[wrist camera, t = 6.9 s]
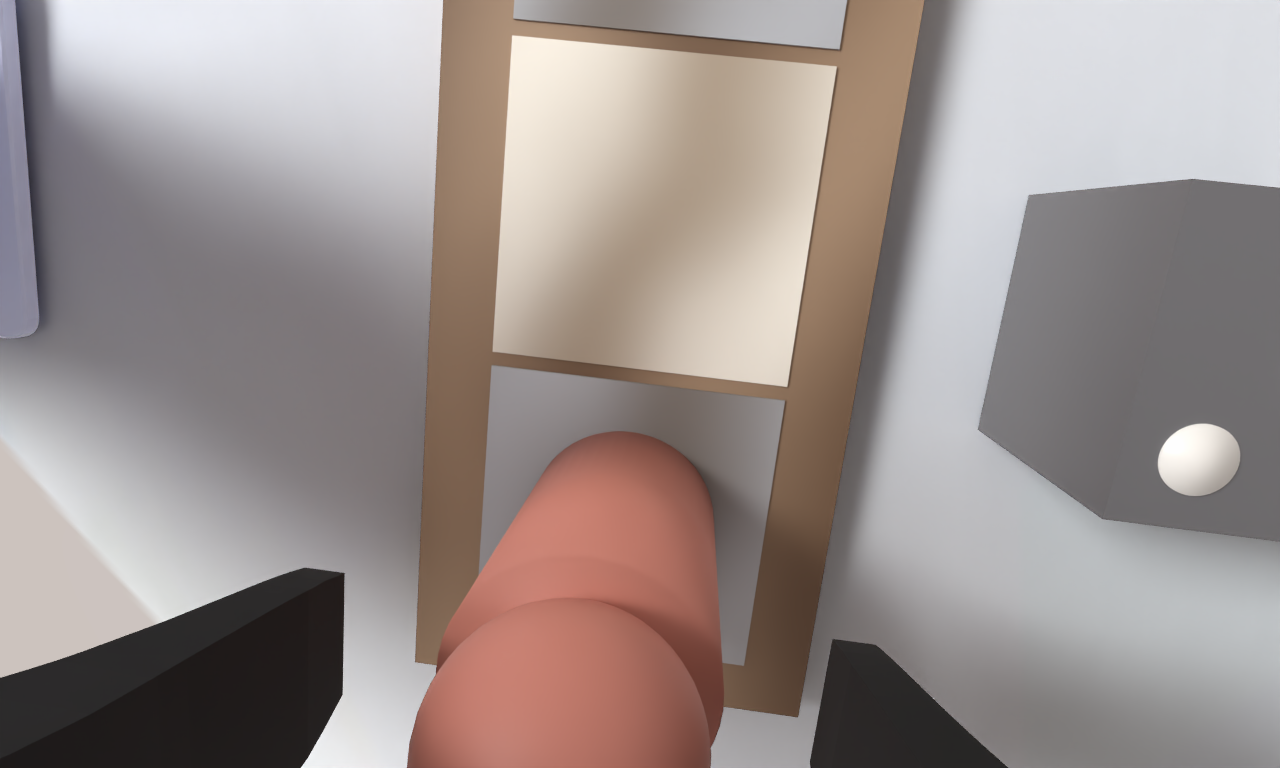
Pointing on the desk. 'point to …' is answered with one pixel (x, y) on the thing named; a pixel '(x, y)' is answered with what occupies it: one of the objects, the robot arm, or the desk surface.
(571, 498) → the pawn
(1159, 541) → the desk surface
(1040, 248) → the dark grey block
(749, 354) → the board
